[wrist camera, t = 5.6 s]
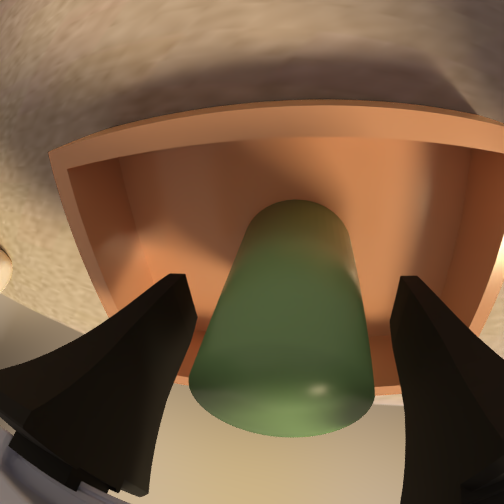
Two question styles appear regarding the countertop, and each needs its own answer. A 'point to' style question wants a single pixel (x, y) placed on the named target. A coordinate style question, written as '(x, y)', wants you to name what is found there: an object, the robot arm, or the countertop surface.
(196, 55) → the countertop surface
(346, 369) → the cucumber piece
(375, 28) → the countertop surface
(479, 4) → the countertop surface
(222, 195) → the terracotta bin
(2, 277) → the unicorn horn
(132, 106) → the countertop surface
